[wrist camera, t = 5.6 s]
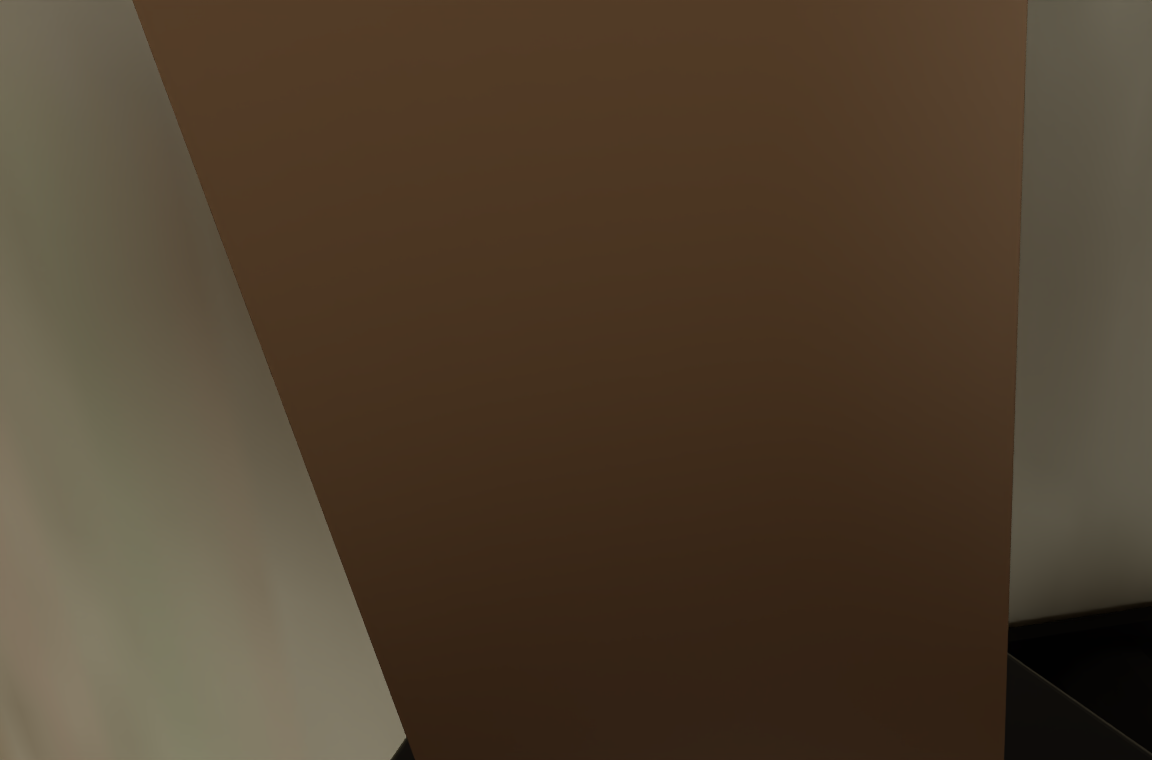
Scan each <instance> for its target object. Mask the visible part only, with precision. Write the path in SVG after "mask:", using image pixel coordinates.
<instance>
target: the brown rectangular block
mask: <svg viewBox="0 0 1152 760" xmlns="http://www.w3.org/2000/svg"><path fill="white" fill-rule="evenodd" d="M133 3H134V6H135V9H136V11H137V14H138V17H139V19H140V22H141V25H142V27H143V30H144V33H145V35H146V38H147V41H148V43H149V46H150V49H151V52H152V54H153V57H154V60H155V62H156V65H157V68H158V70H159V73H160V76H161V78H162V81H163V84H164V86H165V89H166V92H167V95H168V97H169V100H170V103H171V105H172V108H173V111H174V113H175V116H176V119H177V121H178V124H179V127H180V129H181V132H182V135H183V137H184V140H185V143H186V146H187V148H188V151H189V154H190V156H191V159H192V162H193V164H194V167H195V170H196V172H197V175H198V178H199V180H200V183H201V186H202V189H203V191H204V194H205V197H206V199H207V202H208V205H209V207H210V210H211V213H212V215H213V218H214V221H215V223H216V226H217V229H218V232H219V234H220V237H221V240H222V242H223V245H224V248H225V250H226V253H227V256H228V258H229V261H230V264H231V266H232V269H233V272H234V275H235V277H236V280H237V283H238V285H239V288H240V291H241V293H242V296H243V299H244V301H245V304H246V307H247V309H248V312H249V315H250V318H251V320H252V323H253V326H254V328H255V331H256V334H257V336H258V339H259V342H260V344H261V347H262V350H263V352H264V355H265V358H266V361H267V363H268V366H269V369H270V371H271V374H272V377H273V379H274V382H275V385H276V387H277V390H278V393H279V395H280V398H281V401H282V404H283V406H284V409H285V412H286V414H287V417H288V420H289V422H290V425H291V428H292V430H293V433H294V436H295V438H296V441H297V444H298V447H299V449H300V452H301V455H302V457H303V460H304V463H305V465H306V468H307V471H308V473H309V476H310V479H311V481H312V484H313V487H314V490H315V492H316V495H317V498H318V500H319V503H320V506H321V508H322V511H323V514H324V516H325V519H326V522H327V524H328V527H329V530H330V532H331V535H332V538H333V541H334V543H335V546H336V549H337V551H338V554H339V557H340V559H341V562H342V565H343V567H344V570H345V573H346V575H347V578H348V581H349V584H350V586H351V589H352V592H353V594H354V597H355V600H356V602H357V605H358V608H359V610H360V613H361V616H362V618H363V621H364V624H365V627H366V629H367V632H368V635H369V637H370V640H371V643H372V645H373V648H374V651H375V653H376V656H377V659H378V661H379V664H380V667H381V670H382V672H383V675H384V678H385V680H386V683H387V686H388V688H389V691H390V694H391V696H392V699H393V702H394V704H395V707H396V710H397V713H398V715H399V718H400V721H401V723H402V726H403V729H404V731H405V734H406V737H407V739H408V742H409V745H410V747H411V750H412V753H413V756H414V758H415V760H1004V745H1005V713H1006V680H1007V648H1008V616H1009V584H1010V551H1011V519H1012V487H1013V455H1014V423H1015V390H1016V358H1017V326H1018V294H1019V262H1020V229H1021V197H1022V165H1023V133H1024V100H1025V68H1026V36H1027V4H1028V0H133Z"/></svg>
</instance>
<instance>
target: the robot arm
mask: <svg viewBox="0 0 1152 760" xmlns="http://www.w3.org/2000/svg"><path fill="white" fill-rule="evenodd" d="M391 760H415V758H414V756H413V753H412V750H411V747H410V745H409V742H408V739H407V737H406V738H405V740H404V741H403V743H402V744H401V746H400V747H399V749H398V750H397V751H396V753H395V754H394V756H393V757H392V759H391ZM1004 760H1152V607H1147V608H1140V609H1134V610H1127V611H1121V612H1114V613H1108V614H1101V615H1095V616H1088V617H1082V618H1075V619H1069V620H1062V621H1056V622H1049V623H1043V624H1036V625H1030V626H1023V627H1017V628H1010V629H1008V648H1007V680H1006V713H1005V745H1004Z"/></svg>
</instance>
